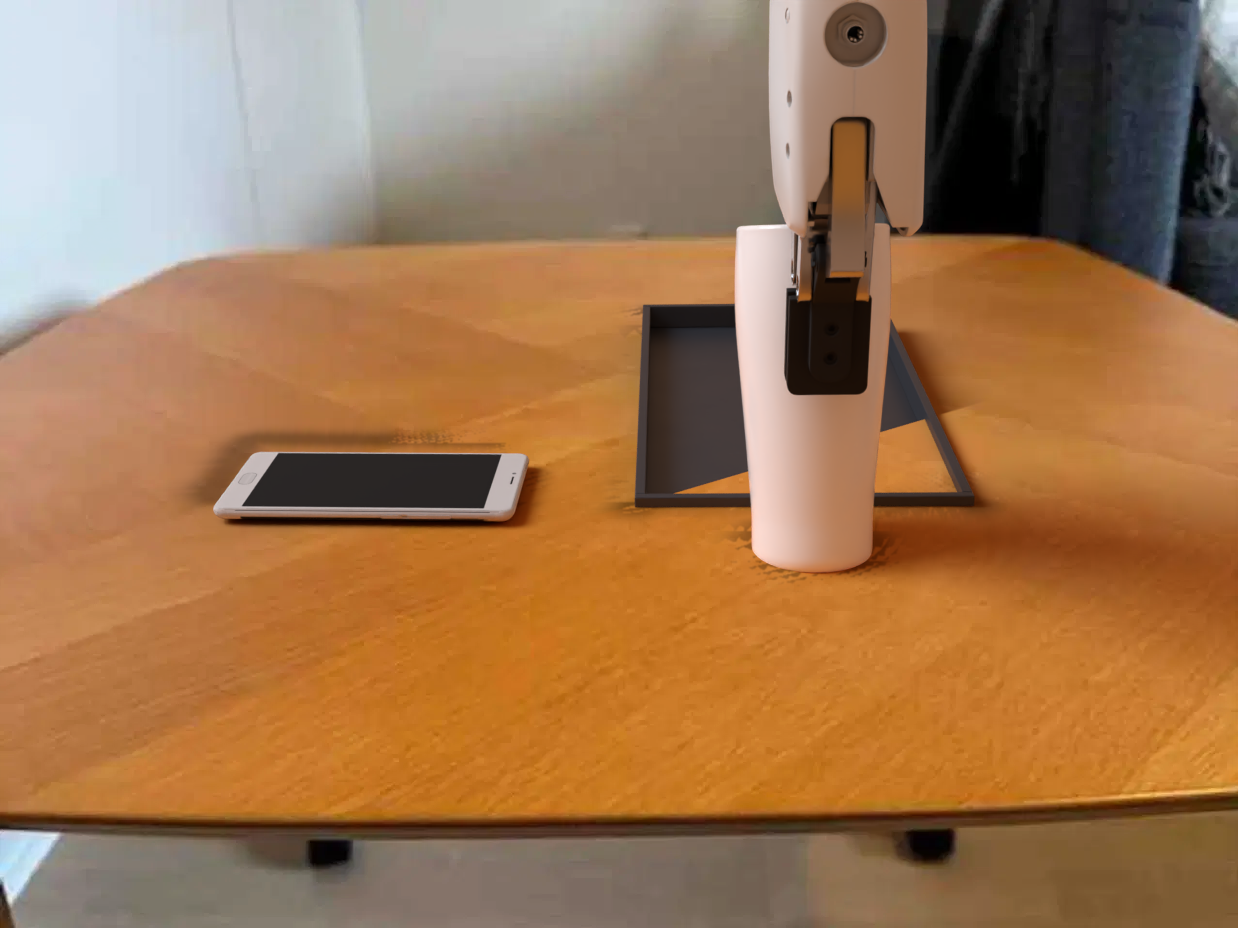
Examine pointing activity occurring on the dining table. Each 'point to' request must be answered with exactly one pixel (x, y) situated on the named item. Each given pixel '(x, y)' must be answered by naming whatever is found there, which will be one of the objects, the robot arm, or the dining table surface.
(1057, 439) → the dining table surface
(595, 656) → the dining table surface
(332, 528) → the dining table surface
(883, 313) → the drinking glass
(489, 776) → the dining table surface
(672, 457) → the tray
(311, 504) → the smartphone
